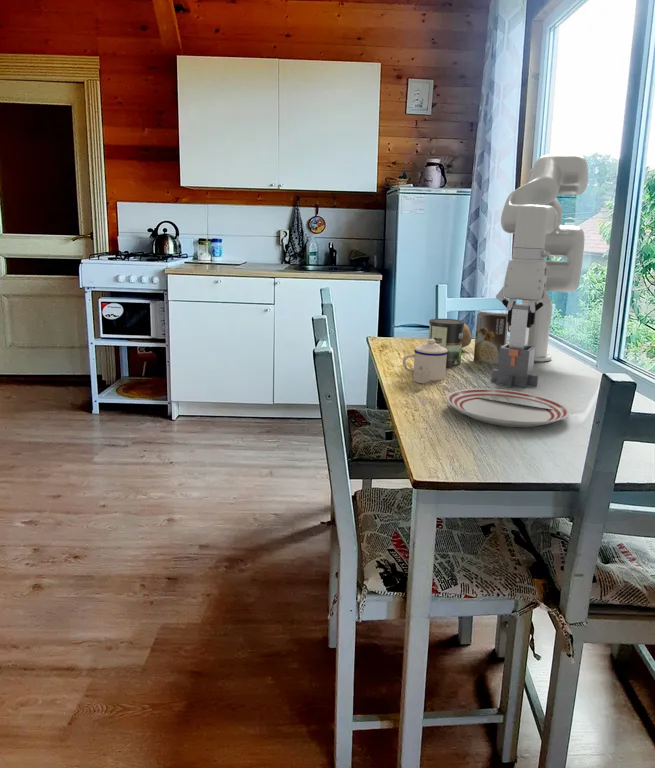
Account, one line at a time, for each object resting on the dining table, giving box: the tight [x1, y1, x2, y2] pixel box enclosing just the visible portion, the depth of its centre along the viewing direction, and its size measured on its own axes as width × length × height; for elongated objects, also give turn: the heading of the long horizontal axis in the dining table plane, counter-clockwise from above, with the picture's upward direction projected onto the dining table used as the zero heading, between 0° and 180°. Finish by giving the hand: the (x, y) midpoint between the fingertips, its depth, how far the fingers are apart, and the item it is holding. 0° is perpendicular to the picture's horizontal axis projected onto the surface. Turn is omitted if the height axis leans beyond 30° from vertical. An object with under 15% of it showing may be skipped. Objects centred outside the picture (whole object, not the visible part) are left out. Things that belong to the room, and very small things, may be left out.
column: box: [508, 302, 530, 350], centre depth 169 cm, size 5×4×21 cm
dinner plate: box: [445, 388, 570, 428], centre depth 148 cm, size 28×27×3 cm
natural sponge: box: [462, 322, 472, 349], centre depth 220 cm, size 9×9×10 cm
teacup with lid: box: [402, 338, 448, 385], centre depth 175 cm, size 12×9×12 cm
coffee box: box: [473, 311, 509, 366], centre depth 197 cm, size 9×6×16 cm
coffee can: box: [428, 318, 465, 371], centre depth 193 cm, size 10×10×14 cm
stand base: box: [491, 342, 539, 389], centre depth 171 cm, size 12×12×11 cm
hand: (520, 325), depth 168 cm, fingers closed on column, 4 cm apart
